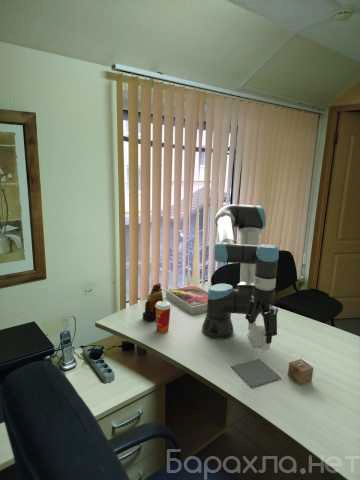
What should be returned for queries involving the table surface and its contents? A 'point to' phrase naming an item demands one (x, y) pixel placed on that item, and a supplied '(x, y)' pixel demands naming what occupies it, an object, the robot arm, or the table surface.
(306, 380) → the letter block
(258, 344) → the die
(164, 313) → the paper cup
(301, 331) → the table surface
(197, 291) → the product packaging
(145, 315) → the statue
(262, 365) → the grey mat
